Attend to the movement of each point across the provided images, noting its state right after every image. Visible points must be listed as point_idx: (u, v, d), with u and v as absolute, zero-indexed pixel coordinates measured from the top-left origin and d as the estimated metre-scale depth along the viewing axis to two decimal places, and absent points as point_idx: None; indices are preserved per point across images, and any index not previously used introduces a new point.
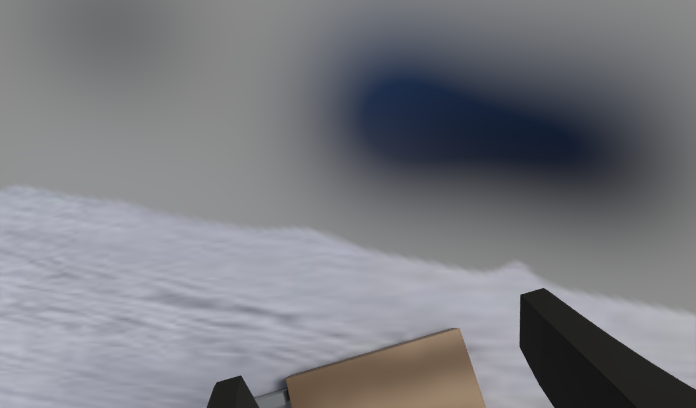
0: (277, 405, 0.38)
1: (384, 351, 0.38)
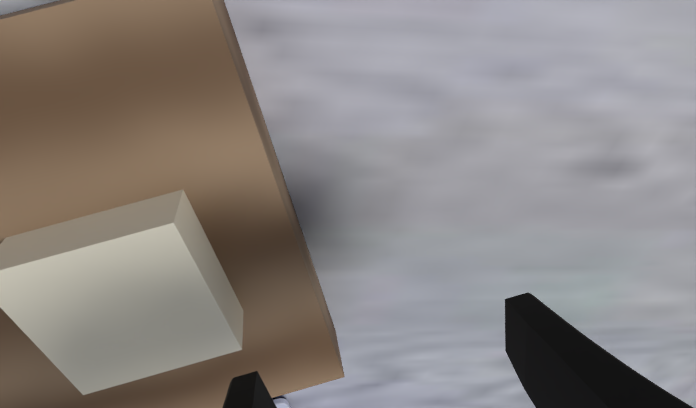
0: None
1: None
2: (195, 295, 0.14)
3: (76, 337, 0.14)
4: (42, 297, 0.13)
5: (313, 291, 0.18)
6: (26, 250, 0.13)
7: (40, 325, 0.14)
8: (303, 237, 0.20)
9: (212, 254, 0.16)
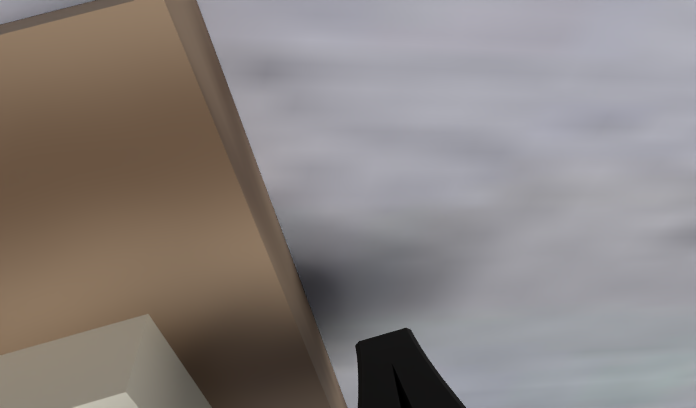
0: None
1: None
2: None
3: None
4: None
5: None
6: None
7: None
8: (318, 333, 0.15)
9: (194, 392, 0.11)
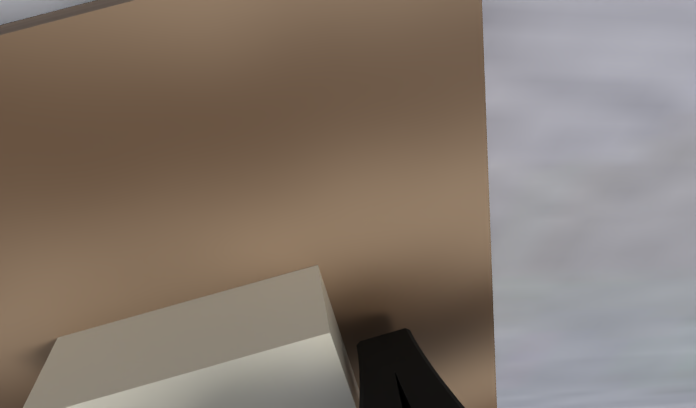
0: None
1: (38, 33, 0.07)
2: None
3: None
4: None
5: (494, 372, 0.13)
6: (95, 368, 0.09)
7: None
8: None
9: (344, 348, 0.11)
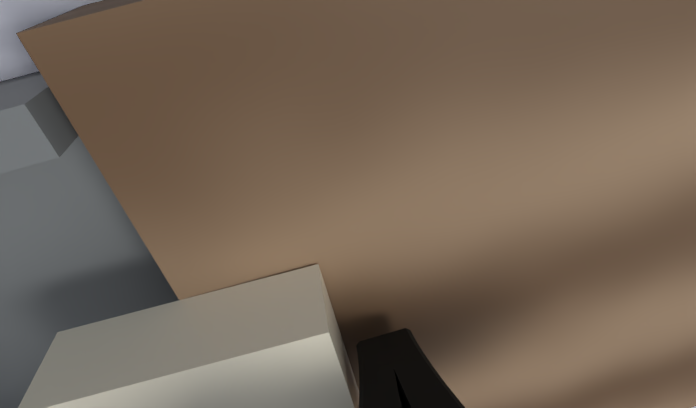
0: (17, 162, 0.08)
1: None
2: None
3: None
4: None
5: None
6: (94, 364, 0.09)
7: None
8: None
9: (344, 348, 0.11)
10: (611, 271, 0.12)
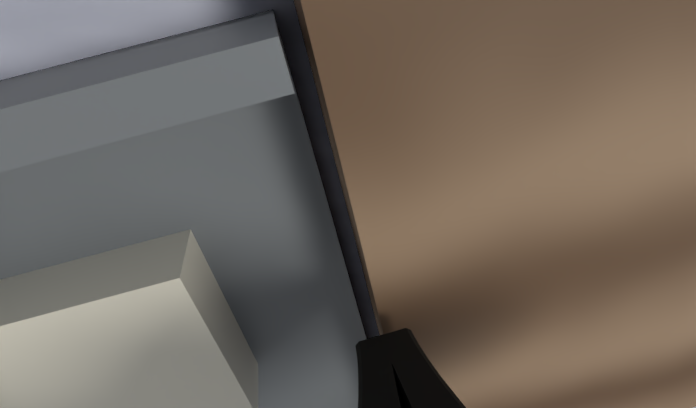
0: (255, 97, 0.08)
1: None
2: None
3: None
4: None
5: None
6: (138, 258, 0.11)
7: None
8: None
9: (1, 403, 0.12)
10: None
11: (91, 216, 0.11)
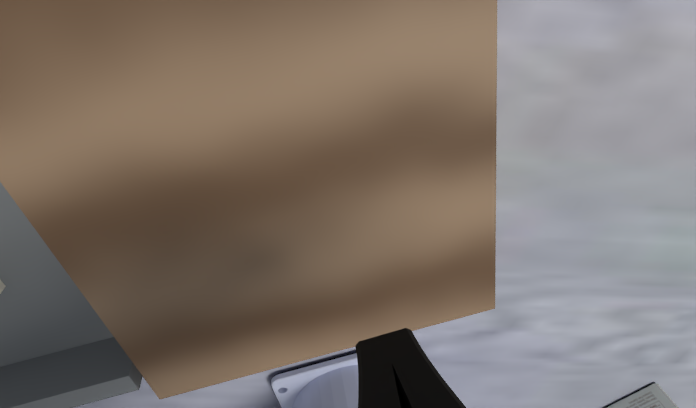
0: None
1: None
2: None
3: None
4: None
5: (494, 205, 0.17)
6: None
7: None
8: None
9: None
10: (353, 172, 0.15)
11: None
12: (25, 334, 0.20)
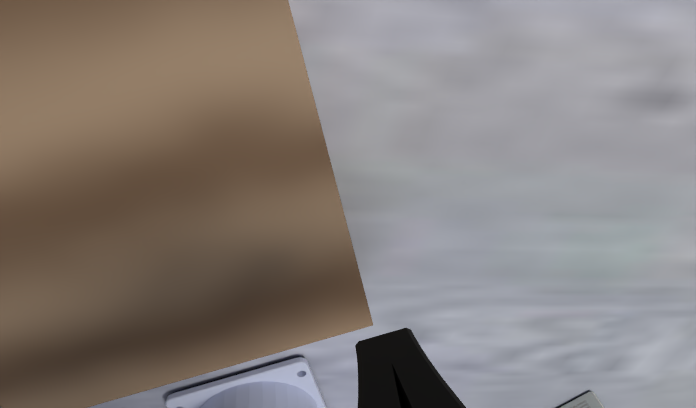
0: None
1: None
2: None
3: None
4: None
5: (344, 221, 0.16)
6: None
7: None
8: None
9: None
10: (174, 192, 0.15)
11: None
12: None
